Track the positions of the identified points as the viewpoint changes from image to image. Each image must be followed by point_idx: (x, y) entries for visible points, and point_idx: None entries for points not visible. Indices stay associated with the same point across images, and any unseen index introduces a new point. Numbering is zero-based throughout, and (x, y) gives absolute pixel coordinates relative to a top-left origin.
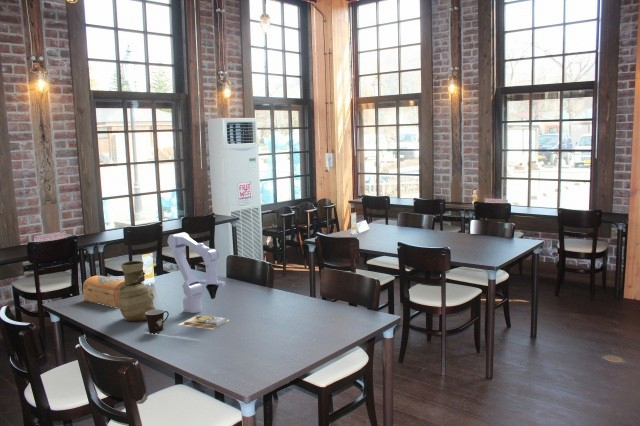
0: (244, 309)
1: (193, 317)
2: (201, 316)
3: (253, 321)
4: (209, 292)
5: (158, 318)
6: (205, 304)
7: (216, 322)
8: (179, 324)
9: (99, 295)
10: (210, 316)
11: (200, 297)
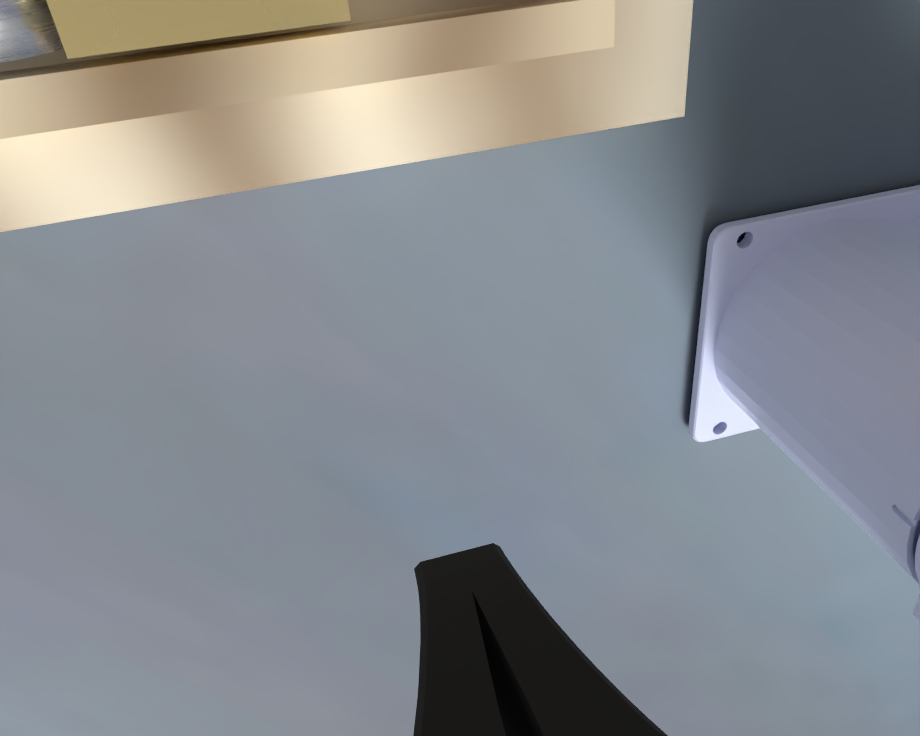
0: (220, 727)
1: (667, 2)
2: (456, 23)
3: None
4: (599, 717)
5: None
6: (817, 575)
7: None
8: None
9: None
10: (134, 34)
11: (899, 527)
